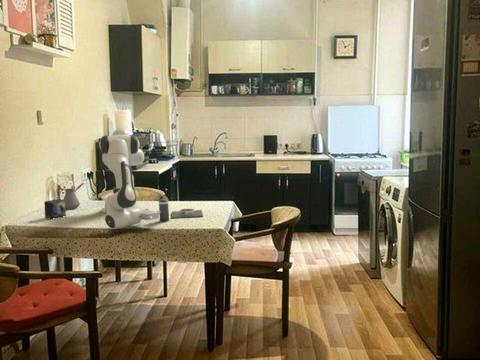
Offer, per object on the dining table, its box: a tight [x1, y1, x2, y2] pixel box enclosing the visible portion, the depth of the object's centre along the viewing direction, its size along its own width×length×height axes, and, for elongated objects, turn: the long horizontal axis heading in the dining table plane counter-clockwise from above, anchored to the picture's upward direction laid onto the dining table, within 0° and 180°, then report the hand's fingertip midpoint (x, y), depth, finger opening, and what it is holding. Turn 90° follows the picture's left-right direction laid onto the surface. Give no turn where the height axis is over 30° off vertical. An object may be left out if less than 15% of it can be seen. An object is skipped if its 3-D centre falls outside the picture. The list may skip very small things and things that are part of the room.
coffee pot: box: [62, 182, 86, 210], centre depth 323 cm, size 21×12×15 cm, turn 162°
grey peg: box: [158, 198, 170, 223], centre depth 274 cm, size 5×5×12 cm
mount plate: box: [171, 208, 204, 220], centre depth 289 cm, size 18×16×3 cm
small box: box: [43, 198, 67, 220], centre depth 291 cm, size 11×6×10 cm, turn 148°
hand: (153, 211), depth 268 cm, fingers open, 8 cm apart
